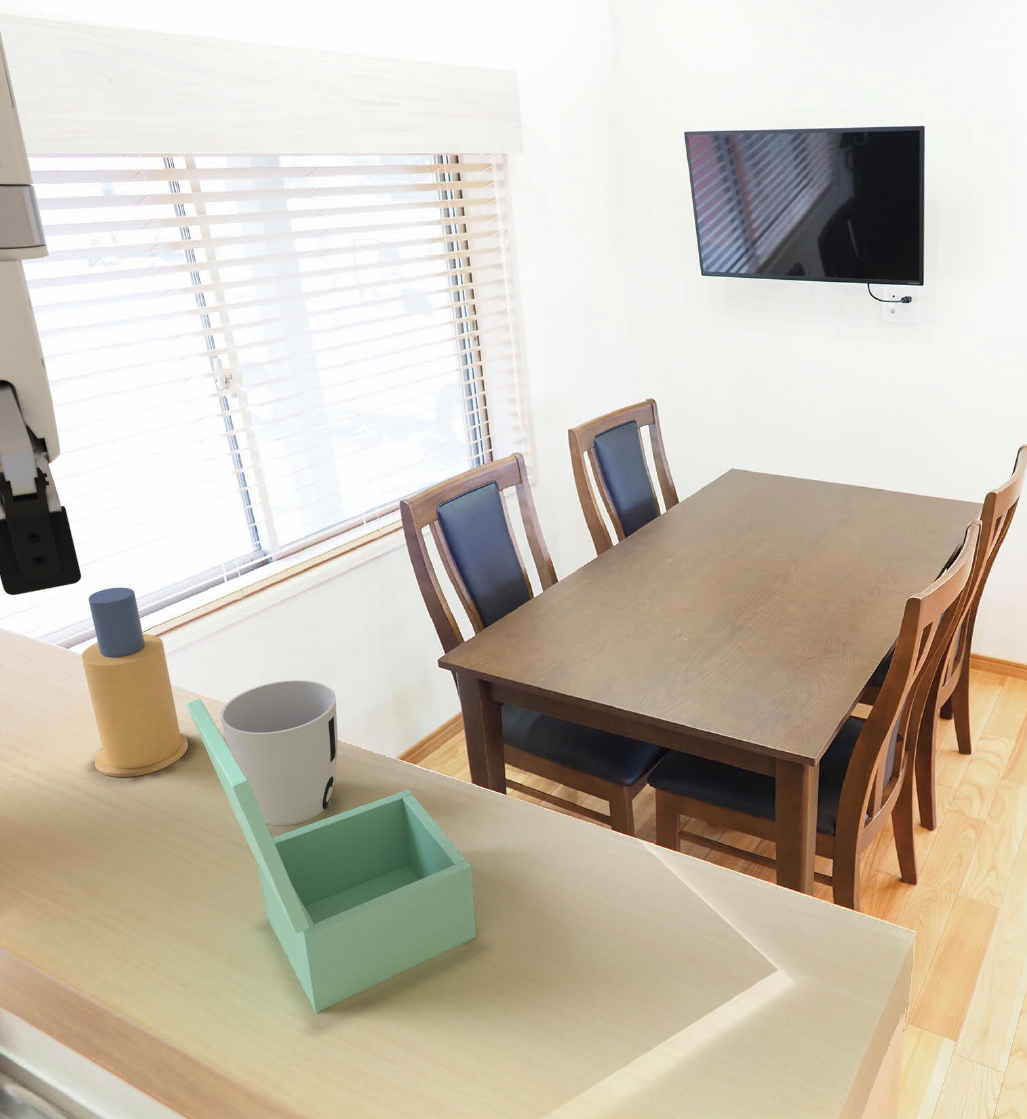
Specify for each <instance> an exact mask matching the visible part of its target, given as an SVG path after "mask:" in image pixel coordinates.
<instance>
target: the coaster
mask: <svg viewBox="0 0 1027 1119" xmlns="http://www.w3.org/2000/svg"><path fill="white" fill-rule="evenodd" d="M180 735H181V740H182V744H181V746H180V748H179V749H178V751H177V752H176V753H174V754H173V755H172V756H170V757H169V758H167V759H165V760H163V761H160V762H158V763H155V764H152V765H149V766H144V767H139V768H117V767H113V766H111V765H109V764H108V763H107V762H106V761H105V757H104V753H103V748H101V749H100V750H99V751H98V752H97V754H96V755H95V758H94V765H95V768H96V770H97V771H98V772H99V773H100V774H102V775H105V776H108V777H112V778H113V777H114V778H130V777H139V776H143V775H148V774H151V773H154V772H158V771H160V770H163V769H165V768H167V767H169V766H171V765H173V764H174V763H176V762H177V761H179V760H180V759H181V758H182V757H183V756H184V755H185V754H186V752H187V751H188V748H189V741H188V738H187V737H186V736H185V735H184V734H183V733H182V732H180Z"/></svg>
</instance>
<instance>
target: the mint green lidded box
mask: <svg viewBox="0 0 1027 1119" xmlns="http://www.w3.org/2000/svg"><path fill="white" fill-rule="evenodd" d="M272 838H273V841H274V843H275V846H276V848H277V850H278V853H279V855H280V857H281V860H282V862H283V865H284V867H285V869H286V872H287V874H288V876H289V879H290V881H291V883H292V886H293V888H294V891H295V893H296V895H297V898H298V900H299V902H300V905H301V907H302V909H303V912H304V914H305V917H306V919H307V921H308V924H309V927H308V928H307V929H305V930H303V931H302V932H300V933H298V934H296V933H295V931H294V929H293V927H292V925H291V924H290V922H289V920H288V918H287V916H286V914H285V912H284V910H283V909H282V907H281V905H280V903H279V901H278V899H277V897H276V895H275V894H274V892H273V890H272V888H271V886H270V884H269V882H268V880H267V878H266V877H265V875H264V873H263V871H262V869H261V867H260V865H259V863H258V862H257V861H256V865H257V869H258V876H259V882H260V888H261V894H262V900H263V906H264V912H265V915H266V917H267V921H268V922H269V924H270V925H271V928H272V930H273V932H274V933H275V935H276V937H277V939H278V942H279V943H280V945H281V947H282V949H283V952H284V953H285V955H286V958H287V959H288V961H289V963H290V965H291V968H292V969H293V971H294V973H295V975H296V977H297V979H298V981H299V983H300V984H301V987H302V989H303V991H304V993H305V996H306V997H307V999H308V1000H309V1002H310V1004H311V1007H312V1008H313V1011H314V1014H315V1013H316V1014H317V1013H320V1012H321V1011H324V1010H326V1009H328V1008H330V1007H332V1006H334V1005H337V1004H339V1003H341V1002H343V1001H345V1000H347V999H349V998H351V997H354V996H355V995H358V994H360V993H362V992H364V991H366V990H368V989H371V988H372V987H374V986H376V985H379V984H381V983H383V982H385V981H387V980H389V979H392V978H393V977H396V976H398V975H400V974H402V973H404V972H406V971H408V970H410V969H412V968H414V967H416V966H418V965H420V964H423V963H425V962H427V961H429V960H431V959H433V958H435V957H438V956H439V955H442V954H444V953H446V952H448V951H450V950H452V949H454V948H456V947H458V946H461V945H463V944H465V943H467V942H469V941H471V940H474V939H475V938H477V937H476V936H477V931H476V917H475V916H476V914H475V901H474V886H473V884H474V883H473V867H472V864H470V863H469V861H468V860H467V859H466V857H465V856H464V855H463V854H462V852H461V851H460V850H459V849H458V848H457V847H456V846H455V845H454V844H455V843H453V842H452V841H451V839H450V838H449V837H448V836H447V835H446V832H444V831H443V830H442V828H441V827H440V826H439V825H438V823H437V822H436V821H435V820H434V818H433V817H432V816H431V815H430V813H429V812H428V811H427V810H426V809H425V808H424V806H423V805H422V804H421V803H420V801H419V800H418V799H417V798H416V796H415V795H414V794H413V793H412V792H411V791H410V789H405V790H402V791H399V792H397V793H394V794H391V795H388V796H386V797H383V798H380V799H377V800H373V801H371V802H369V803H365V804H362V805H360V806H358V807H354V808H351V809H349V810H345V811H343V812H341V813H337V814H335V815H331V816H330V817H326V818H323V819H321V820H318V821H315V822H312V823H310V824H306V825H304V826H301V827H297V828H295V829H293V830H290V831H287V832H284V833H282V834H279V835H276V836H272Z"/></svg>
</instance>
